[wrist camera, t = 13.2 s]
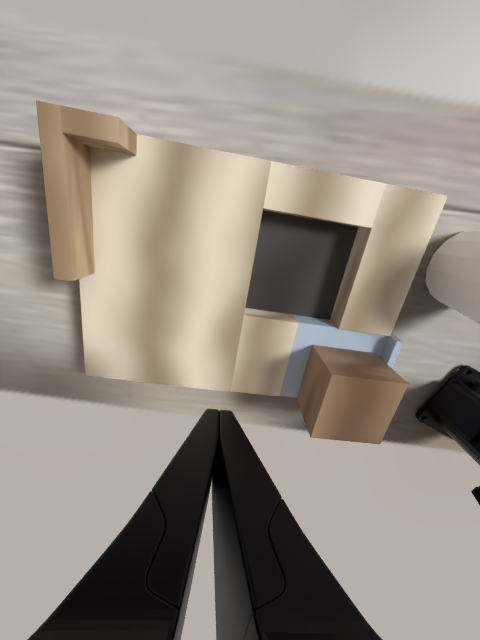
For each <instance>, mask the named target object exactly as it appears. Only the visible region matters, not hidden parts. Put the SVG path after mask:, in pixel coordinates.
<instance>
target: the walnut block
mask: <svg viewBox="0 0 480 640" xmlns="http://www.w3.org/2000/svg"><path fill="white" fill-rule="evenodd" d="M407 386H408V383H407V382H406V381H405V380H404V379H403V378H401V377H400V376H399V375H398V374H397V373H396V372H395V371H394V370H393V369H392V368H391V367H389V366H388V365H387V364H386V363H385V362H384V361H383V360H382V359H381V358H380V357H379V356H378V355H376V354H375V353H371V352H364V351H356V350H349V349H341V348H334V347H326V346H319V345H312V347H311V351H310V354H309V358H308V361H307V364H306V368H305V371H304V375H303V378H302V381H301V385H300V388H299V391H298V395H297V398H296V399H297V402H298V405H299V407H300V410H301V413H302V415H303V418H304V421H305V423H306V426H307V429H308V431H309V434H310V437H313V438H323V439H333V440H343V441H354V442H363V443H373V444H380V443H381V441H382V439H383V437H384V435H385V433H386V431H387V428H388V426H389V424H390V422H391V420H392V418H393V416H394V414H395V412H396V409H397V407H398V405H399V403H400V401H401V399H402V397H403V395H404V393H405V391H406V388H407Z"/></svg>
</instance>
